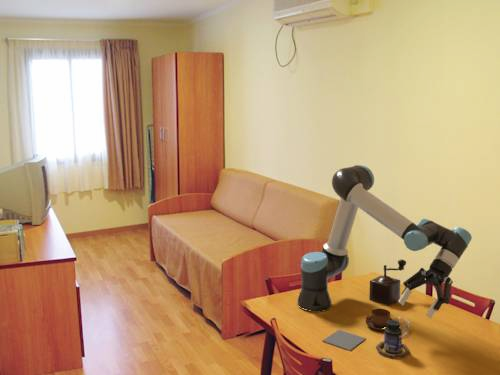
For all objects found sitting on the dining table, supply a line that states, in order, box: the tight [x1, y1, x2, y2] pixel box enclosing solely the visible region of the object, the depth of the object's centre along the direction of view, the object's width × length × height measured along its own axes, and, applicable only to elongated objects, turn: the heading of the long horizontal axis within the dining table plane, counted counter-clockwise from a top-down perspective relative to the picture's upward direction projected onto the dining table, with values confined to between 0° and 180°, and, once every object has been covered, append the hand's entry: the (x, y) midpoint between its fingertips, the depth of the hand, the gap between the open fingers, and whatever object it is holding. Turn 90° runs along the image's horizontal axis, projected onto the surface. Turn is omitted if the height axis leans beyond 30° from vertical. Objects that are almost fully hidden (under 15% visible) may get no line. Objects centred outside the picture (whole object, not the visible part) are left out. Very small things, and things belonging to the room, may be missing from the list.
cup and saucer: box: [365, 308, 394, 331], centre depth 204 cm, size 12×12×6 cm
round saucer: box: [375, 340, 410, 359], centre depth 184 cm, size 11×11×1 cm
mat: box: [322, 329, 367, 352], centre depth 193 cm, size 12×12×1 cm
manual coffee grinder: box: [369, 259, 407, 306], centre depth 232 cm, size 16×11×18 cm
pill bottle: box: [383, 319, 403, 354], centre depth 183 cm, size 6×6×11 cm
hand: (413, 309), depth 186 cm, fingers open, 13 cm apart
